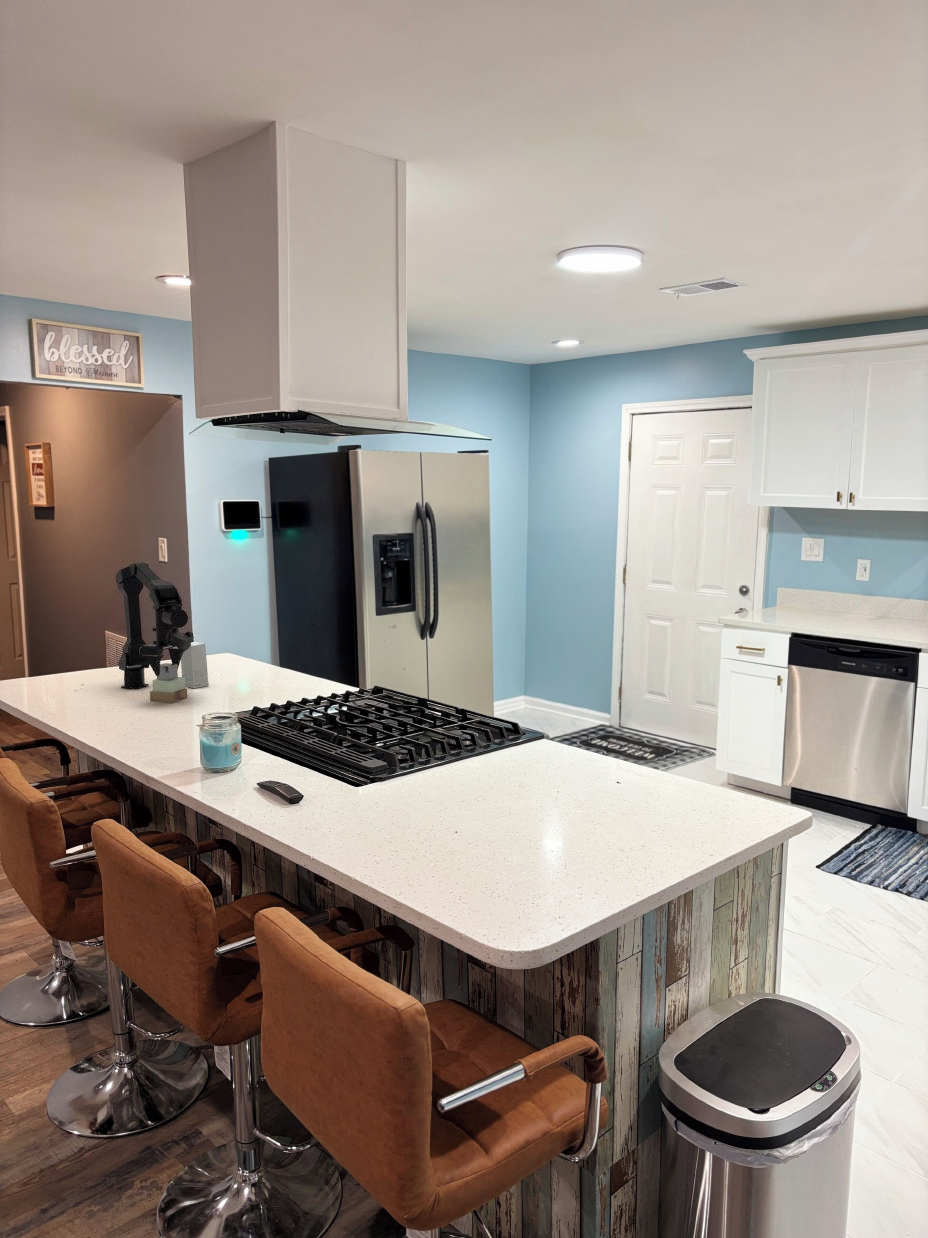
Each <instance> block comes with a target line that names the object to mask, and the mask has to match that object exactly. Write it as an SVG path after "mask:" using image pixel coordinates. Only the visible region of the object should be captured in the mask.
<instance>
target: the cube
mask: <svg viewBox="0 0 928 1238" xmlns="http://www.w3.org/2000/svg"><path fill="white" fill-rule="evenodd" d="M178 670H179V668H178V669H177V664H172V663H169V662H168V663H167V662H165V663H160V675H159V676H156V679H157V680H167V681H169V680H173V679H176V678H178V677H179V675H178V674H179V673H178V672H179V671H178Z"/></svg>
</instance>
